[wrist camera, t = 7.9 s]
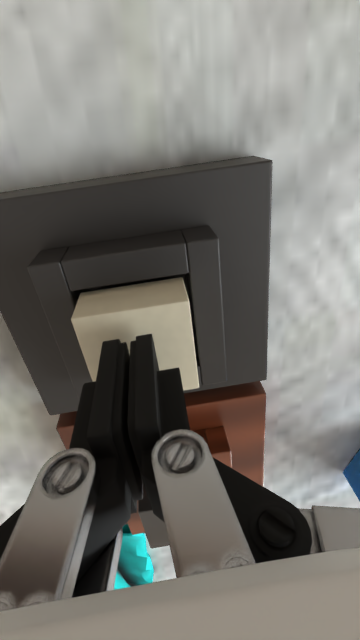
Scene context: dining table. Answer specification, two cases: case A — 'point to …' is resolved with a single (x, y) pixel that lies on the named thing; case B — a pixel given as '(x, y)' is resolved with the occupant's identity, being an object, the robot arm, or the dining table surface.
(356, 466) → the perfume bottle
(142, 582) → the cloth
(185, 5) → the dining table surface
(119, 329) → the ivory key
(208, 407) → the brown stepped socket base
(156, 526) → the ebony key
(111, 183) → the dark grey socket base
